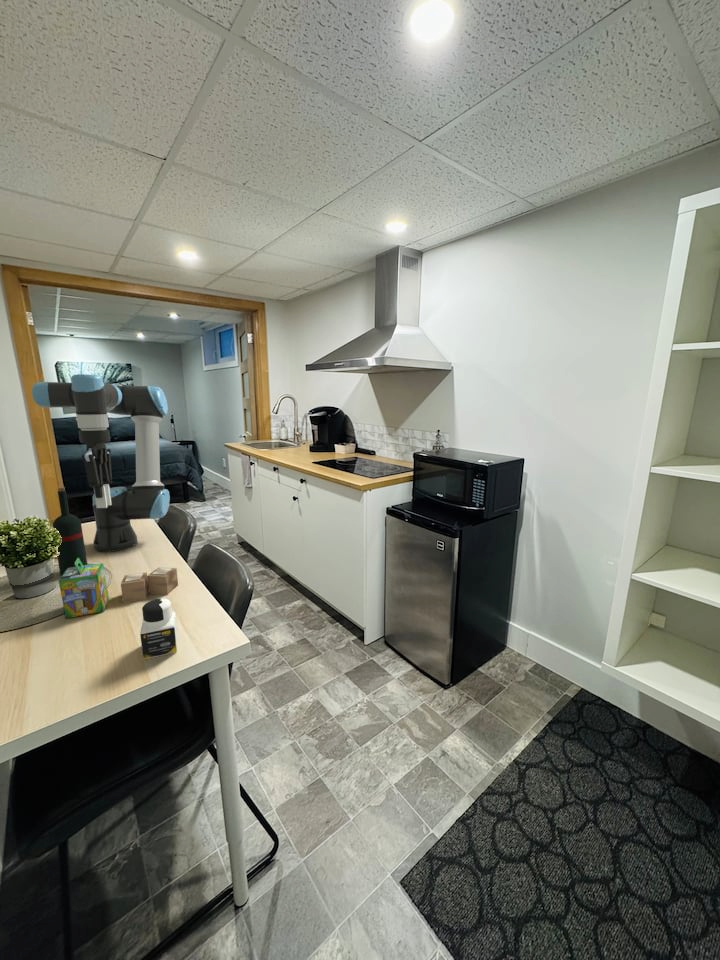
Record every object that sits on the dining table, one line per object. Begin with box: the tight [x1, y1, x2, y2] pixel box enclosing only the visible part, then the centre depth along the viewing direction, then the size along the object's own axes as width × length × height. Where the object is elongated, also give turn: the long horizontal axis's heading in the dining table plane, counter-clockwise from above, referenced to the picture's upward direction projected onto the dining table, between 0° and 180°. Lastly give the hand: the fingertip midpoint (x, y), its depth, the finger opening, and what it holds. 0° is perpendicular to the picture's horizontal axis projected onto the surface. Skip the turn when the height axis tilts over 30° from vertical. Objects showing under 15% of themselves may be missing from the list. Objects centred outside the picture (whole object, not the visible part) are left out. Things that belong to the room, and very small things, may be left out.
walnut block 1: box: [120, 572, 149, 603], centre depth 118 cm, size 6×6×6 cm
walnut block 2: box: [147, 567, 179, 596], centre depth 122 cm, size 6×6×6 cm
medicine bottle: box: [139, 598, 179, 661], centre depth 93 cm, size 7×7×12 cm
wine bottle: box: [52, 486, 89, 577], centre depth 131 cm, size 8×10×30 cm
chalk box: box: [58, 558, 109, 620], centre depth 110 cm, size 9×9×15 cm
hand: (104, 506), depth 119 cm, fingers open, 2 cm apart
